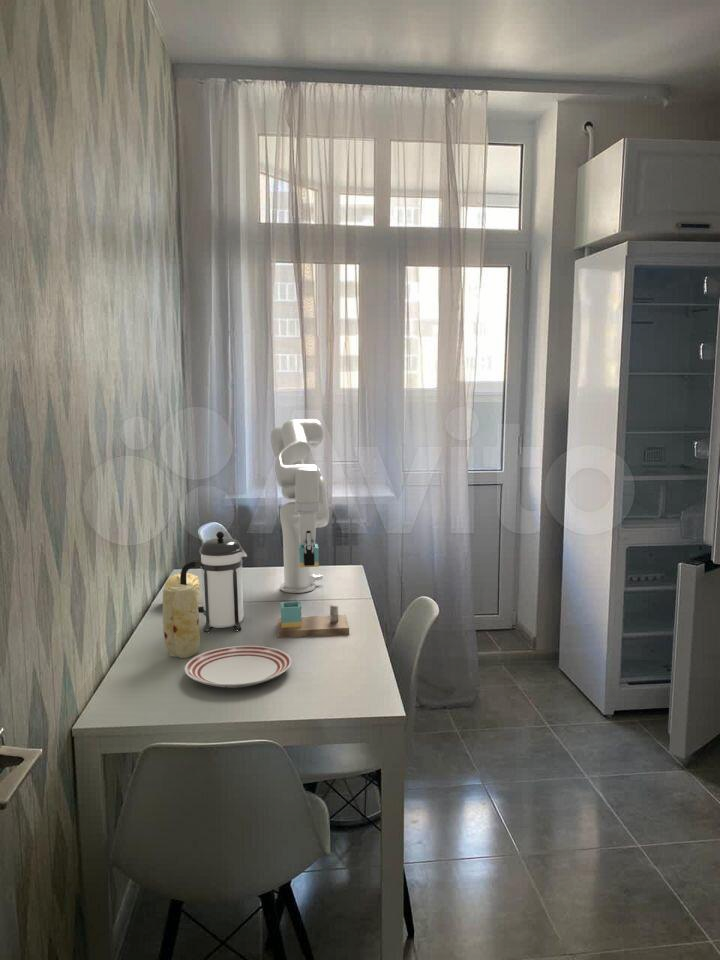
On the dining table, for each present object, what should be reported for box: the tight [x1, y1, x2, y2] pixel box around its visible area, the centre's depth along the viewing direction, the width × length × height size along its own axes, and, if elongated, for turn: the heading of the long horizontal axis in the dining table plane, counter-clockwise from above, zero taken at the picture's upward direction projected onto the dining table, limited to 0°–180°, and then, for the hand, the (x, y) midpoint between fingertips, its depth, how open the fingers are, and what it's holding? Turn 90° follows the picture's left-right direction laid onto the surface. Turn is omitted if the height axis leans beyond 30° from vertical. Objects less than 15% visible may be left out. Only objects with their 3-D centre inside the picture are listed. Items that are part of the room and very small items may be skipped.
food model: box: [162, 584, 201, 659], centre depth 206 cm, size 10×7×20 cm
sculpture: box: [163, 572, 201, 599], centre depth 254 cm, size 11×12×11 cm
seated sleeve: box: [280, 600, 302, 628], centre depth 226 cm, size 6×6×6 cm
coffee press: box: [180, 531, 248, 634], centre depth 228 cm, size 17×16×30 cm
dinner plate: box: [184, 645, 292, 689], centre depth 194 cm, size 27×27×3 cm
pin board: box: [277, 604, 350, 639], centre depth 227 cm, size 21×12×7 cm, turn 96°
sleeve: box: [299, 543, 320, 568], centre depth 237 cm, size 6×6×6 cm
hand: (308, 562), depth 237 cm, fingers closed on sleeve, 6 cm apart
